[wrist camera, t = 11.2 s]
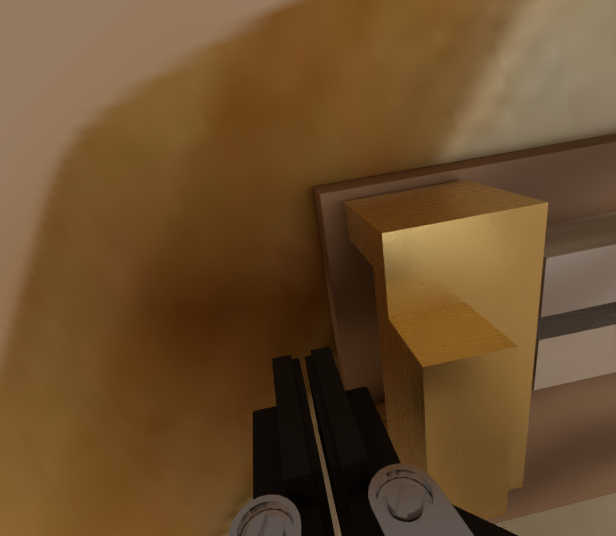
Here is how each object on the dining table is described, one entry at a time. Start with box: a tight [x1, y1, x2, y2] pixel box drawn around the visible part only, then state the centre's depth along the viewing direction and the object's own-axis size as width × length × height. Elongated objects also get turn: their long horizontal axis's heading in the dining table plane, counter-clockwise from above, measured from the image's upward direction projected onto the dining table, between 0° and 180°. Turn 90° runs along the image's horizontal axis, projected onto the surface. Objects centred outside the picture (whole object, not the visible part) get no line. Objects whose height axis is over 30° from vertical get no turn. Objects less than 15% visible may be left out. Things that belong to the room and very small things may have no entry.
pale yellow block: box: [344, 180, 548, 520], centre depth 11 cm, size 9×4×6 cm, turn 8°
